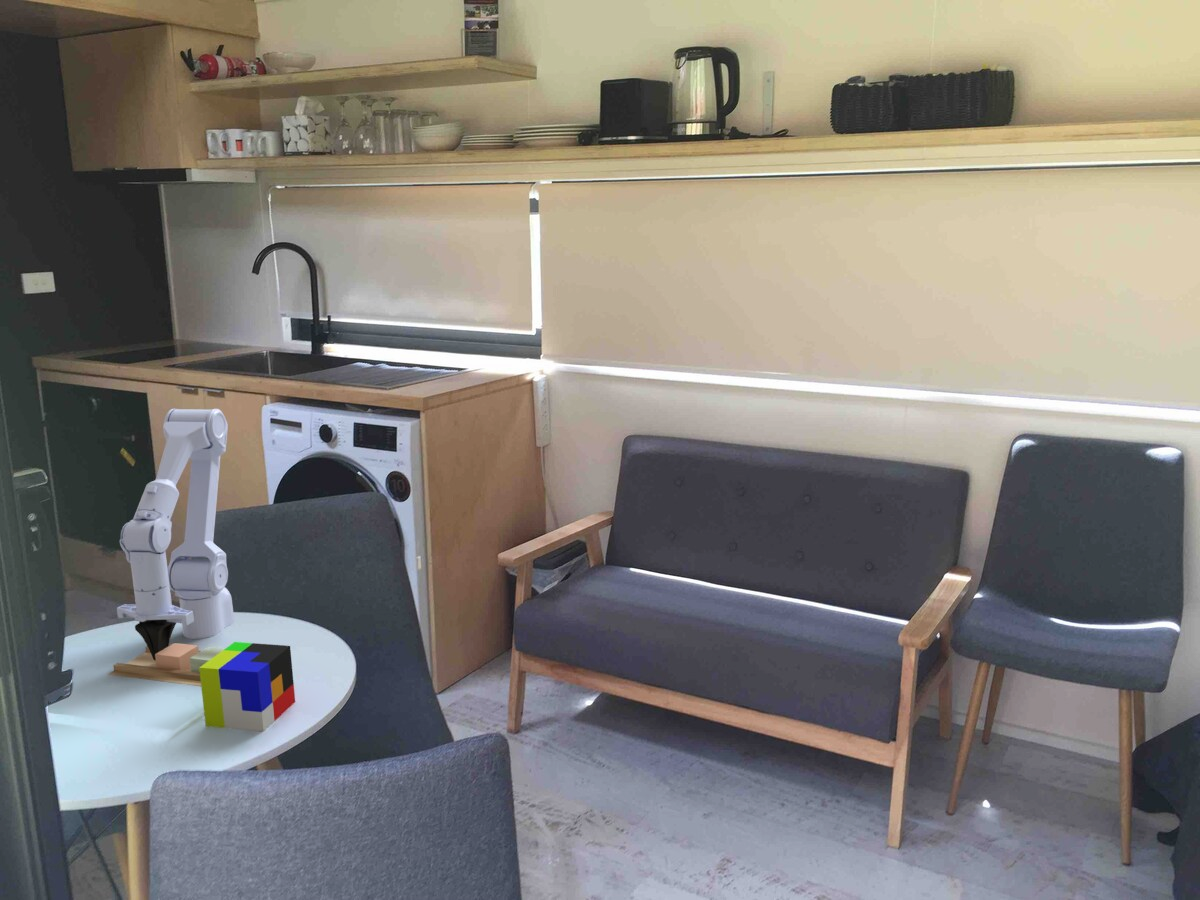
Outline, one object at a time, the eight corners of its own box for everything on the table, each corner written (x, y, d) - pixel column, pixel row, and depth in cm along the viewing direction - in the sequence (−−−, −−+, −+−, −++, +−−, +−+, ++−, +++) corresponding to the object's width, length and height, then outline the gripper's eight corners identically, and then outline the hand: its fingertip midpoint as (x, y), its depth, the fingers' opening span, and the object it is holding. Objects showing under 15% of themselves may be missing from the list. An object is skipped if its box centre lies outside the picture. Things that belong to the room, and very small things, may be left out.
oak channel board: (156, 652, 185) (153, 631, 184) (278, 666, 177) (276, 644, 177) (108, 680, 173) (105, 658, 172) (236, 696, 166) (234, 673, 165)
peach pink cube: (176, 658, 179) (174, 642, 178) (199, 661, 178) (198, 645, 177) (157, 670, 174) (155, 654, 174) (181, 673, 173) (179, 657, 172)
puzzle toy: (263, 731, 155) (257, 672, 152) (205, 726, 157) (199, 667, 154) (295, 702, 164) (290, 645, 162) (240, 697, 166) (234, 641, 164)
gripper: (100, 590, 172) (110, 663, 175) (170, 597, 168) (179, 671, 171) (129, 576, 179) (138, 647, 182) (198, 583, 175) (206, 655, 178)
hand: (160, 658), depth 177 cm, fingers closed
